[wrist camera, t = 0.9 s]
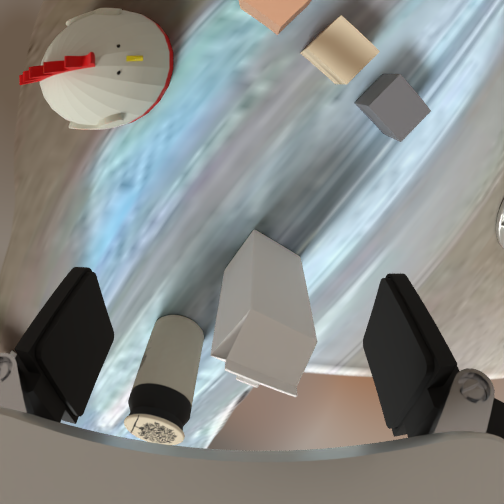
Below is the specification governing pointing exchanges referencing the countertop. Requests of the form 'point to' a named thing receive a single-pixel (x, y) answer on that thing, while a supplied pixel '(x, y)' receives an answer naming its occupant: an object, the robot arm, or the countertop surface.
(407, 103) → the charcoal block
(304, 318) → the milk carton
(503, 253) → the countertop surface
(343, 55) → the maple block
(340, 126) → the countertop surface
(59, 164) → the countertop surface
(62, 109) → the kitchen timer
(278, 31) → the terracotta block
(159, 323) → the travel mug
